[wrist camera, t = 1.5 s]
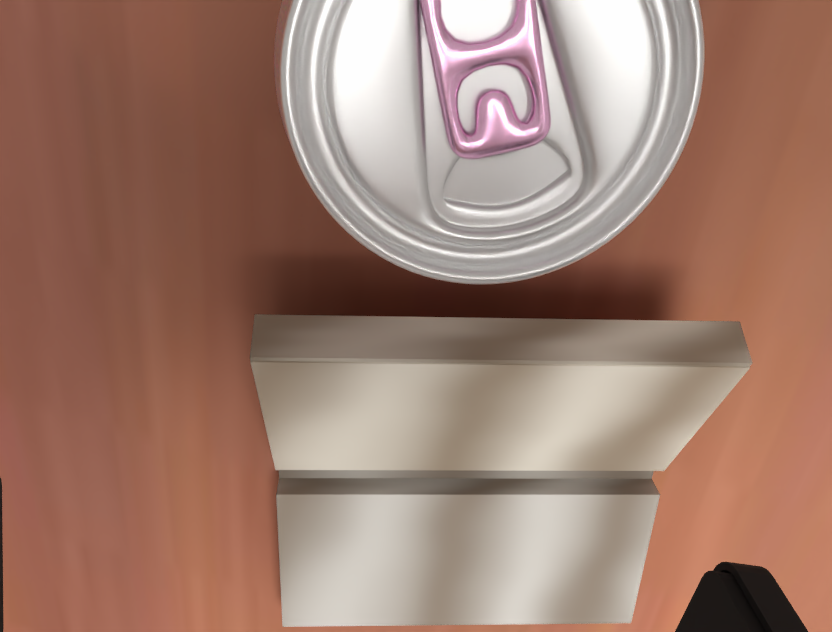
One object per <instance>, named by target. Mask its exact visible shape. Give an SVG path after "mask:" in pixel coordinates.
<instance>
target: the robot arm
mask: <svg viewBox="0 0 832 632" xmlns="http://www.w3.org/2000/svg"><path fill="white" fill-rule="evenodd" d="M0 632H3V551H2V482H1V478H0ZM675 632H808V631H807V629H806V627H805V626H804V624H803V623H802V621H801V620H800V618H799V616H798V615H797V613H796V612H795V610H794V609H793V607H792V606H791V604H790V602H789V601H788V599H787V598H786V596H785V595H784V593H783V591H782V590H781V588H780V587H779V585H778V584H777V582H776V580H775V579H774V577H773V576H772V575H771V573H770V572H769V571H768V570H767V569H765V568H763V567H760V566H752V565H745V564H738V563H730V562H721V563H720V564H718V565H717V566H716V567H715V569H714V570H713V571H708V572H706V573H705V574H704V576H703V577H702V579H701V581H700V583H699V585H698V587H697V589H696V591H695V593H694V595H693V597H692V599H691V601H690V603H689V605H688V607H687V609H686V611H685V613H684V615H683V617H682V619H681V621H680V623H679V625H678V627H677V629H676V631H675Z"/></svg>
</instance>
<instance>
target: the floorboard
mask: <svg viewBox="0 0 832 632" xmlns="http://www.w3.org/2000/svg"><path fill="white" fill-rule="evenodd" d="M652 475H653V471H485V470H279V482H278V488H277V493H276V499H277V520H278V540H279V561H280V581H281V602H282V622H283V627H296V626H393V625H491V624H588V623H631V621H632V616H633V612H634V608H635V603H636V599H637V594H638V590H639V585H640V581H641V577H642V572H643V568H644V563H645V559H646V554H647V550H648V545H649V541H650V537H651V532H652V528H653V523H654V519H655V514H656V510H657V506H658V501H659V497H660V494H659V492H658V490H657V488H656V486H655V484H654V482H653V480H652Z"/></svg>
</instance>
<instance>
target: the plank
mask: <svg viewBox="0 0 832 632" xmlns="http://www.w3.org/2000/svg"><path fill="white" fill-rule="evenodd" d="M250 360H251V367H252V371H253V375H254V380H255V384H256V388H257V393H258V397H259V401H260V405H261V410H262V414H263V418H264V423H265V427H266V431H267V436H268V440H269V444H270V448H271V453H272V457H273V461H274V466H275V470H485V471H664V470H665V469H666V468H667V467H668V465H669V464H670V463H671V462H672V461H673V459H674V458H675V457H676V456H677V455H678V453H679V452H680V451H681V450H682V449H683V447H684V446H685V445H686V444H687V443H688V442H689V440H690V439H691V438H692V437H693V436H694V434H695V433H696V432H697V431H698V430H699V428H700V427H701V426H702V425H703V424H704V422H705V421H706V420H707V419H708V418H709V416H710V415H711V414H712V413H713V412H714V410H715V409H716V408H717V407H718V406H719V404H720V403H721V402H722V401H723V400H724V398H725V397H726V396H727V395H728V394H729V392H730V391H731V390H732V389H733V388H734V386H735V385H736V384H737V383H738V382H739V381H740V379H741V378H742V377H743V376H744V375H745V373H746V372H747V371H748V370H749V369H750V365H751V364H752V360H751V357H750V353H749V350H748V347H747V344H746V341H745V337H744V334H743V331H742V328H741V324H740V322H732V321H665V320H597V319H530V318H463V317H395V316H328V315H261V314H255V316H254V325H253V334H252V343H251V351H250Z"/></svg>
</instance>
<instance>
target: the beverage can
mask: <svg viewBox="0 0 832 632" xmlns="http://www.w3.org/2000/svg"><path fill="white" fill-rule="evenodd" d="M704 60H705V45H704V30H703V21H702V15H701V9H700V4H699V0H282V3H281V7H280V12H279V16H278V21H277V28H276V35H275V48H274V76H275V87H276V94H277V100H278V106H279V110H280V114H281V118H282V122H283V126H284V129H285V132H286V135H287V138H288V140H289V143H290V145H291V147H292V150H293V152H294V155H295V157H296V159H297V162H298V164H299V167H300V169H301V171H302V173H303V175H304V177H305V178H306V180H307V182H308V184H309V186H310V187H311V189H312V190H313V192H314V194H315V195H316V197H317V198H318V199H319V201H320V202H321V204H322V205H323V206H324V208H325V209H326V210H327V211H328V213H329V214H330V215H331V216H332V217H333V218H334V220H335V221H336V222H337V223H338V224H339V225H340V226H341V227H342V228H343V229H344V230H345V231H346V232H347V233H349V234H350V235H351V236H352V237H353V238H354V239H355V240H357V241H358V242H359V243H361V244H362V245H363V246H365V247H366V248H367V249H369V250H370V251H372V252H373V253H375V254H377V255H378V256H380V257H381V258H383V259H385V260H387V261H389V262H391V263H393V264H394V265H397V266H399V267H401V268H403V269H406V270H408V271H411V272H414V273H416V274H419V275H422V276H426V277H430V278H433V279H437V280H443V281H448V282H454V283H463V284H499V283H509V282H515V281H520V280H526V279H530V278H534V277H538V276H541V275H544V274H547V273H550V272H553V271H556V270H558V269H561V268H563V267H566V266H568V265H570V264H572V263H574V262H576V261H578V260H580V259H582V258H584V257H586V256H587V255H589V254H591V253H592V252H594V251H596V250H597V249H599V248H600V247H602V246H603V245H605V244H606V243H608V242H609V241H610V240H611V239H613V238H614V237H615V236H617V235H618V234H619V233H620V232H622V231H623V230H624V229H625V228H626V227H627V226H628V225H629V224H630V223H632V222H633V221H634V220H635V219H636V217H637V216H638V215H639V214H640V213H641V212H642V211H643V210H644V209H645V208H646V207H647V206H648V204H649V203H650V202H651V201H652V200H653V198H654V197H655V196H656V194H657V193H658V192H659V190H660V189H661V188H662V186H663V185H664V183H665V182H666V180H667V178H668V177H669V175H670V174H671V172H672V170H673V169H674V167H675V165H676V163H677V161H678V159H679V158H680V155H681V153H682V151H683V149H684V147H685V145H686V142H687V140H688V137H689V134H690V132H691V129H692V126H693V123H694V120H695V116H696V113H697V109H698V105H699V100H700V96H701V90H702V83H703V75H704Z"/></svg>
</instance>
